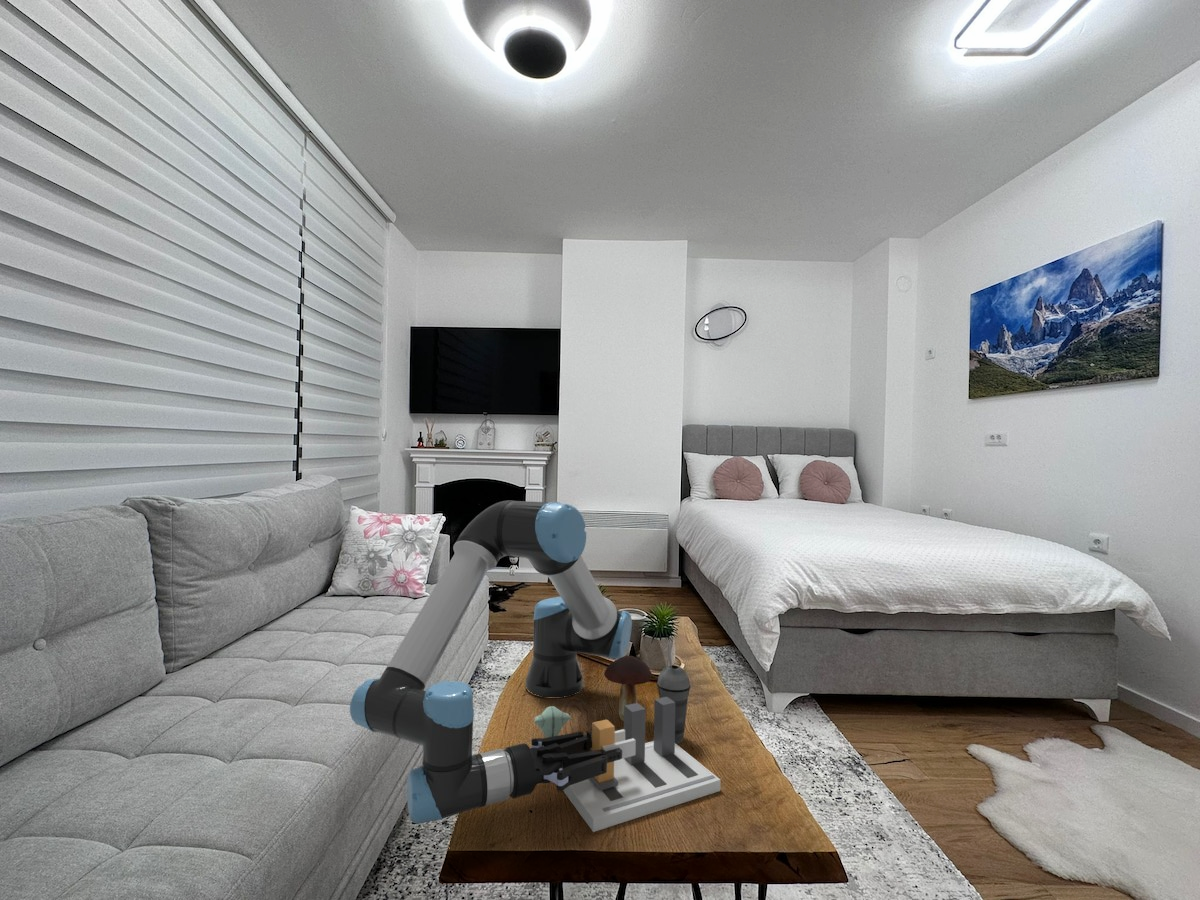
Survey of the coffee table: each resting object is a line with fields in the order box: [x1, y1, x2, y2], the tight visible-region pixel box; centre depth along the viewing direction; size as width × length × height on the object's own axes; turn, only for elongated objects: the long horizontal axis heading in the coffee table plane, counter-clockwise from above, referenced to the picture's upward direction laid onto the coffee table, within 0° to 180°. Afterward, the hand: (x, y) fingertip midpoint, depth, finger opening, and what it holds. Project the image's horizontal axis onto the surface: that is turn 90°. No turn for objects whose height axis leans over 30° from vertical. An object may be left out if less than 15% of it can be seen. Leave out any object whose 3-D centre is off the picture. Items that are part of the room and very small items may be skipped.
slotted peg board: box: [562, 697, 722, 833], centre depth 101 cm, size 17×26×12 cm, turn 117°
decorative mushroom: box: [604, 655, 653, 722], centre depth 126 cm, size 11×11×15 cm
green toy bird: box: [534, 705, 572, 738], centre depth 117 cm, size 8×4×7 cm, turn 106°
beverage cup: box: [656, 644, 691, 745], centre depth 118 cm, size 7×7×20 cm
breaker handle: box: [590, 719, 618, 791], centre depth 98 cm, size 5×4×10 cm
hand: (629, 741), depth 100 cm, fingers closed on breaker handle, 3 cm apart
